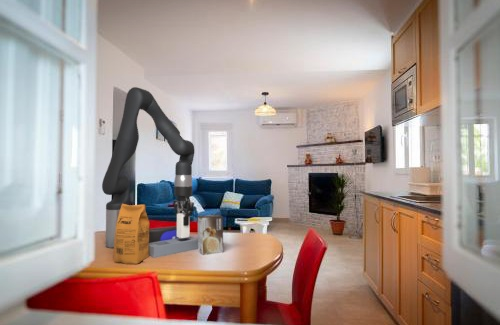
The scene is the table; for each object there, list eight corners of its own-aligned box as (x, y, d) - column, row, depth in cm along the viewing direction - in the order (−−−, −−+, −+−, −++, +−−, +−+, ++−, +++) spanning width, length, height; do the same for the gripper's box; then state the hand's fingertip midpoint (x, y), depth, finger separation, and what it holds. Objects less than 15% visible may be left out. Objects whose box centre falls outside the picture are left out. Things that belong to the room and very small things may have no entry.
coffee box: (218, 251, 131) (217, 214, 132) (223, 254, 126) (223, 215, 126) (197, 254, 127) (197, 215, 128) (202, 257, 122) (202, 217, 122)
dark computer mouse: (145, 253, 130) (145, 230, 130) (142, 250, 134) (142, 229, 134) (181, 247, 139) (181, 226, 139) (178, 245, 143) (178, 225, 143)
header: (144, 256, 125) (144, 243, 125) (189, 247, 139) (189, 236, 139) (154, 260, 118) (154, 247, 118) (199, 250, 132) (199, 239, 133)
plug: (176, 236, 133) (176, 213, 133) (184, 235, 135) (184, 212, 136) (181, 238, 130) (181, 214, 130) (189, 236, 132) (189, 213, 133)
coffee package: (127, 256, 125) (128, 202, 126) (152, 258, 121) (153, 203, 122) (109, 262, 116) (109, 204, 117) (135, 265, 112) (135, 205, 112)
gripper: (167, 185, 136) (167, 223, 135) (184, 186, 125) (183, 228, 125) (182, 184, 141) (182, 221, 140) (199, 185, 130) (199, 225, 130)
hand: (183, 224), depth 133 cm, fingers closed on plug, 4 cm apart
